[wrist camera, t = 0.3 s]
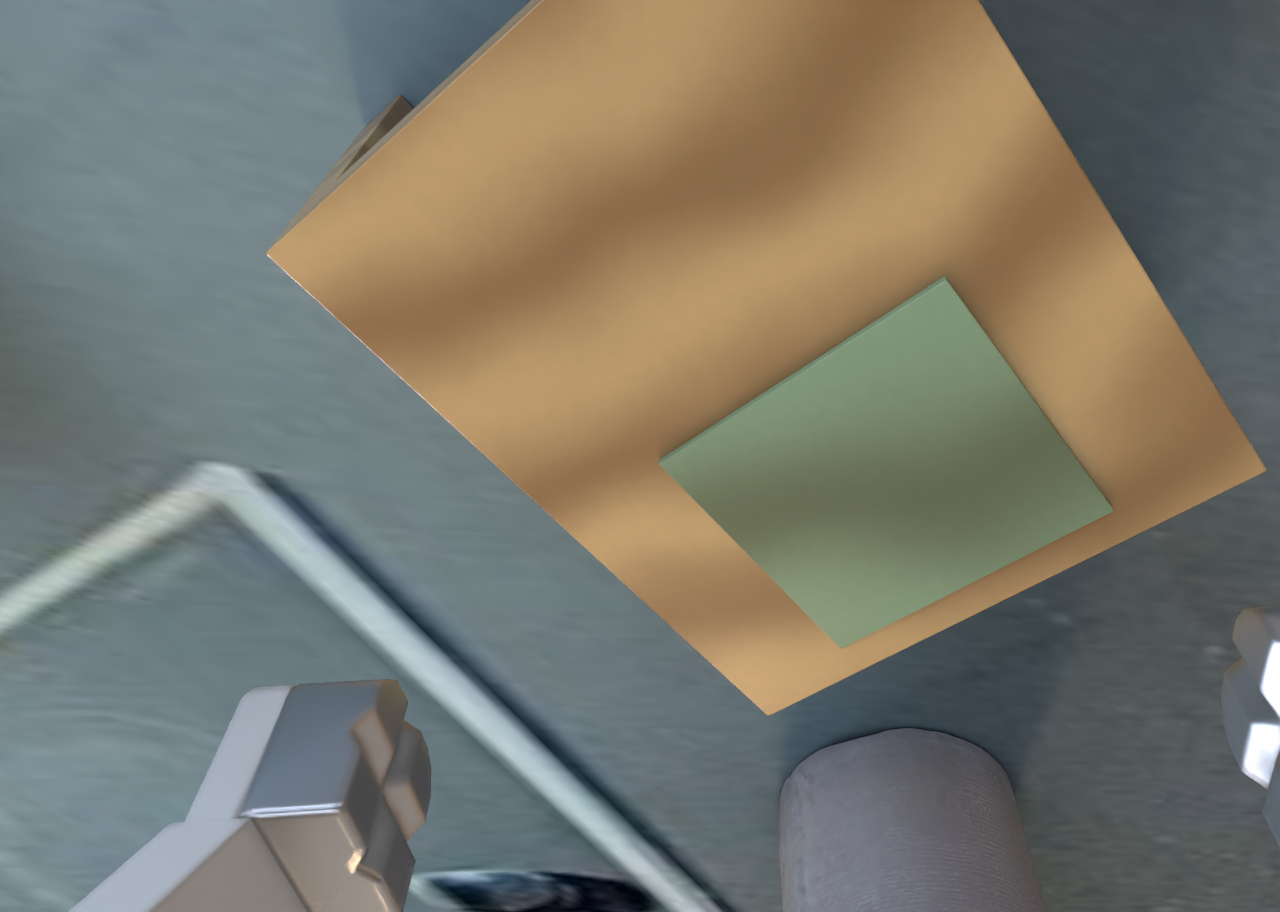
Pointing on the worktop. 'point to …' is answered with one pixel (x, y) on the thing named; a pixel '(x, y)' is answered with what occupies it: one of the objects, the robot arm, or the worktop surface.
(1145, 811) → the worktop surface
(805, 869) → the pillar candle
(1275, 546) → the worktop surface
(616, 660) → the worktop surface
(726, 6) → the oak shelf
